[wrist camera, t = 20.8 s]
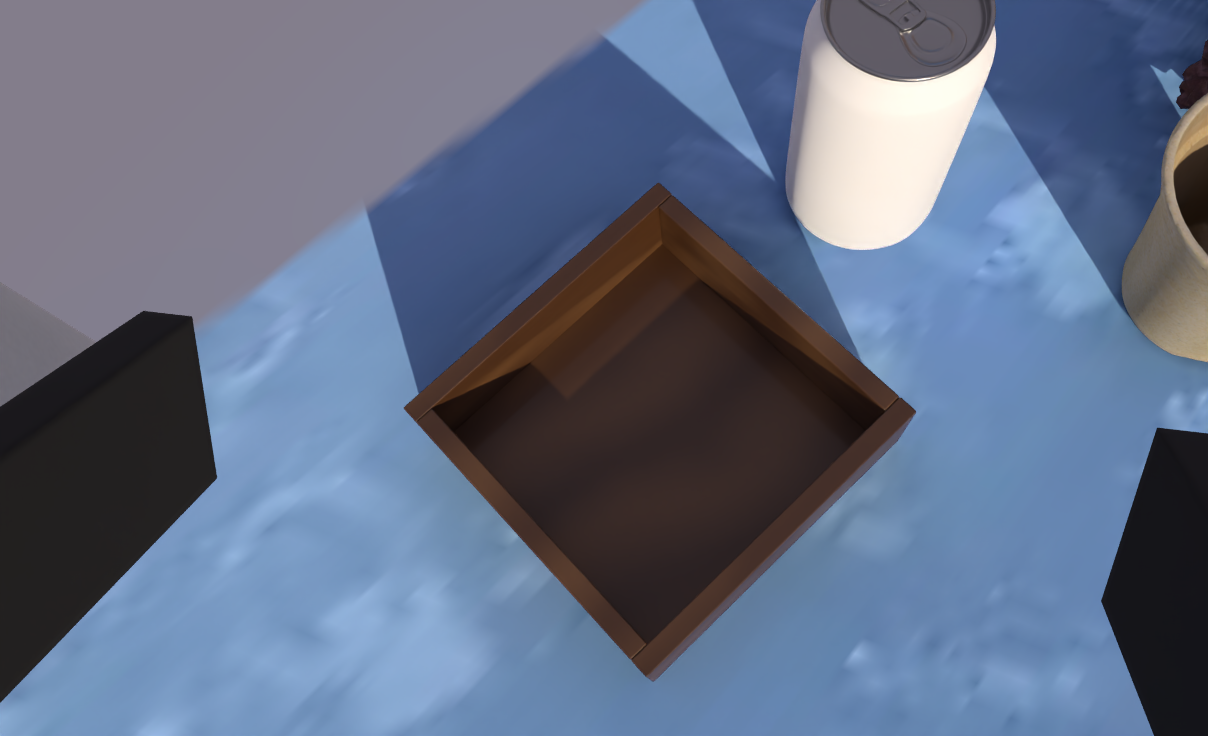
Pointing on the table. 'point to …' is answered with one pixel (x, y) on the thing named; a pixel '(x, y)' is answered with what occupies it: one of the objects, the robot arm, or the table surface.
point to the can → (882, 112)
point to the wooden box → (659, 426)
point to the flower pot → (1175, 247)
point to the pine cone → (1194, 82)
